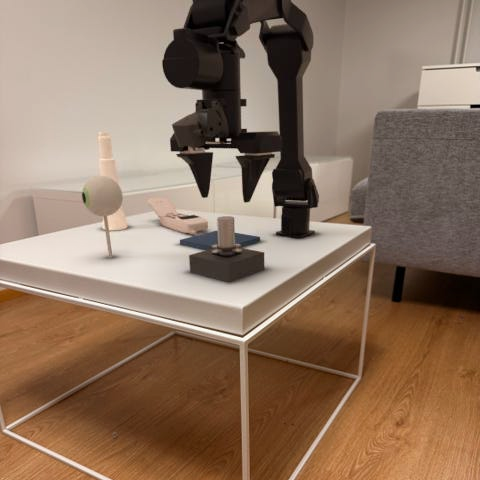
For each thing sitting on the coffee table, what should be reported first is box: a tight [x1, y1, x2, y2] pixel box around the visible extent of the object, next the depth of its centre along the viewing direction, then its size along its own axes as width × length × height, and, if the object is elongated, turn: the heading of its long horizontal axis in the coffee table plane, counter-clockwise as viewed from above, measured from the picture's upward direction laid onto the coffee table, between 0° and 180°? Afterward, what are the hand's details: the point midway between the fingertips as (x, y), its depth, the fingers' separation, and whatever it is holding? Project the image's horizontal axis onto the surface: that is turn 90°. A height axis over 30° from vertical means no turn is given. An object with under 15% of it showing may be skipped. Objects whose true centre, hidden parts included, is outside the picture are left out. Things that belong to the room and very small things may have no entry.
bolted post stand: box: [212, 215, 242, 258], centre depth 78 cm, size 6×6×9 cm
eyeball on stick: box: [81, 175, 124, 259], centre depth 86 cm, size 7×7×15 cm
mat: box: [179, 229, 261, 251], centre depth 98 cm, size 12×12×1 cm
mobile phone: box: [145, 195, 209, 236], centre depth 114 cm, size 6×6×25 cm
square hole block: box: [188, 247, 265, 283], centre depth 79 cm, size 9×9×3 cm
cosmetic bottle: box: [97, 131, 128, 231], centre depth 111 cm, size 6×6×22 cm
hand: (225, 199), depth 75 cm, fingers open, 9 cm apart
